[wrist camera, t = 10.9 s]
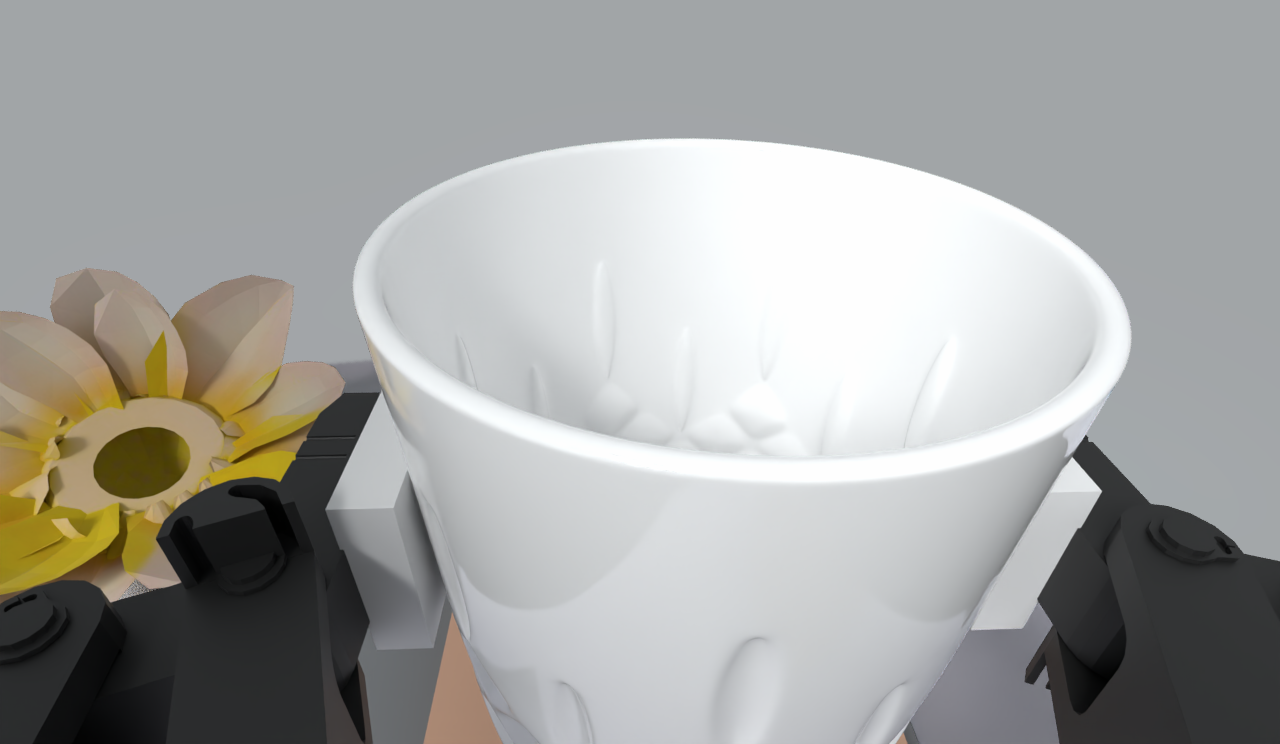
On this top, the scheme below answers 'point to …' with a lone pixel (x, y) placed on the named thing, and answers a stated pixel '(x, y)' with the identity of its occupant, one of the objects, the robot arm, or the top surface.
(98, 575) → the decorative flower
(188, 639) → the robot arm
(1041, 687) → the top surface
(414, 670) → the mat
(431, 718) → the tile
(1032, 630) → the top surface
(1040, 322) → the white cup
